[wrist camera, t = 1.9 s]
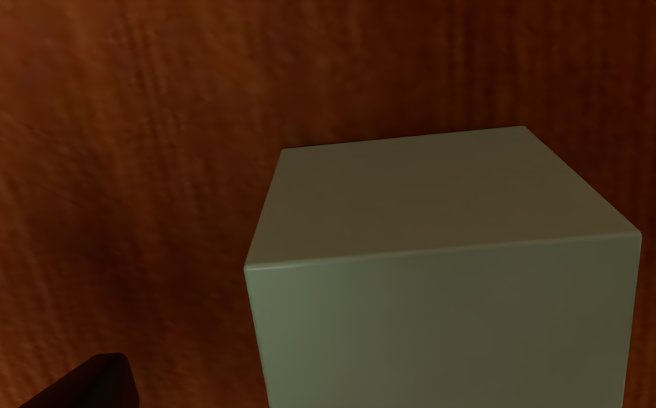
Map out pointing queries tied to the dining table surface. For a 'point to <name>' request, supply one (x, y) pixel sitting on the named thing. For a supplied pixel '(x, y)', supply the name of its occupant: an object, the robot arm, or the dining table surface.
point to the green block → (440, 277)
